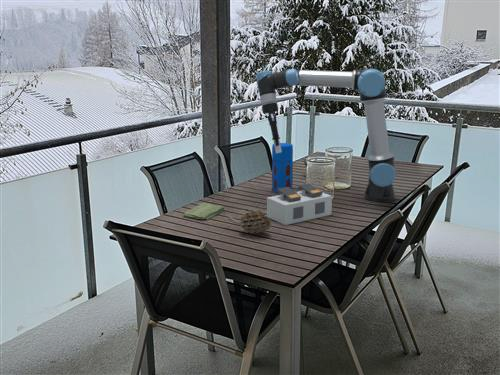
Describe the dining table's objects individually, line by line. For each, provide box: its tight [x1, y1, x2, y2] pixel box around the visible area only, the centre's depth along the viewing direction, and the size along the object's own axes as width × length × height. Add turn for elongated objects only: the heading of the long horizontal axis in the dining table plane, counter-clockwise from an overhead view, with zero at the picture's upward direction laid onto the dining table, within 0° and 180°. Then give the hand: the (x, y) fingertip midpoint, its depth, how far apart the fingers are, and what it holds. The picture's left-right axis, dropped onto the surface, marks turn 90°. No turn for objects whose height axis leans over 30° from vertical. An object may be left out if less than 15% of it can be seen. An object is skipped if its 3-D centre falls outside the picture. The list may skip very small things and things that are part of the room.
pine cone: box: [226, 209, 272, 235], centre depth 209 cm, size 22×10×10 cm, turn 62°
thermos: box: [271, 142, 294, 194], centre depth 268 cm, size 11×11×25 cm
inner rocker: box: [297, 183, 323, 197], centre depth 230 cm, size 10×6×2 cm, turn 32°
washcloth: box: [182, 202, 225, 221], centre depth 234 cm, size 13×18×3 cm
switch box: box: [266, 186, 333, 226], centre depth 229 cm, size 14×26×12 cm, turn 122°
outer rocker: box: [277, 187, 301, 202], centre depth 224 cm, size 10×6×2 cm, turn 32°
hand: (278, 152), depth 240 cm, fingers closed
